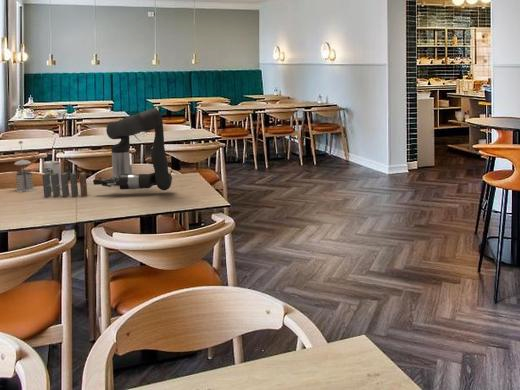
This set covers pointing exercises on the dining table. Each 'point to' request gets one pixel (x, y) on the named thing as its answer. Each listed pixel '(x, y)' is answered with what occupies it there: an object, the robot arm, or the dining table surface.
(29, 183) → the french press
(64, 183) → the charcoal tile
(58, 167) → the syrup box
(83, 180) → the walnut tile
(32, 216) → the dining table surface
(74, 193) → the charcoal tile
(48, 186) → the charcoal tile
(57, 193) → the charcoal tile
